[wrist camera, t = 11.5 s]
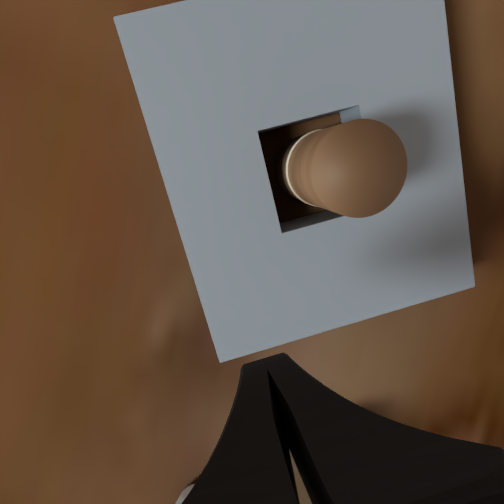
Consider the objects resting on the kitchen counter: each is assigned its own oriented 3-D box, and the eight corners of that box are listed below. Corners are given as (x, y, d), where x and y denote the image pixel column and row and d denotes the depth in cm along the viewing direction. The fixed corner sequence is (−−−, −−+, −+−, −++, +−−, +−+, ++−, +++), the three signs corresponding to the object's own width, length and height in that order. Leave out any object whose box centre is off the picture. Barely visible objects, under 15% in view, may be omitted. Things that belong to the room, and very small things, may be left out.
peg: (330, 125, 20) (397, 103, 13) (346, 189, 21) (417, 201, 14) (266, 146, 19) (301, 135, 13) (285, 210, 20) (327, 232, 14)
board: (406, -29, 18) (438, -58, 16) (445, 273, 22) (474, 286, 20) (125, 37, 18) (113, 17, 15) (217, 340, 22) (219, 362, 19)
